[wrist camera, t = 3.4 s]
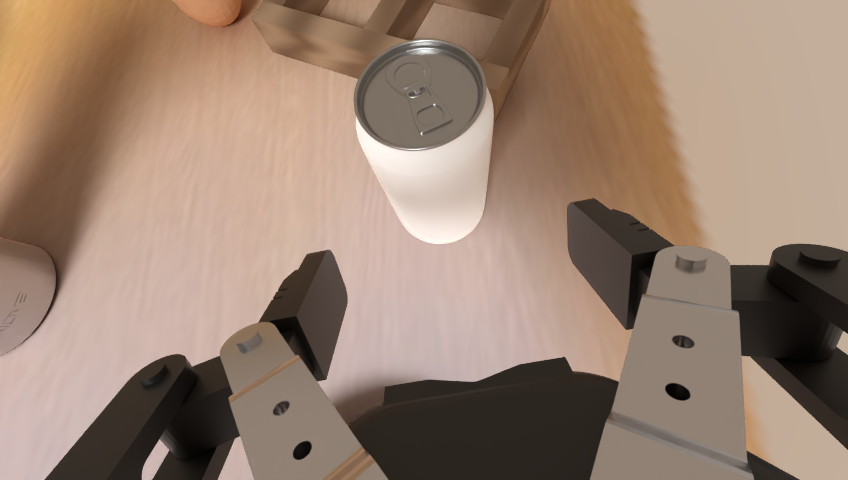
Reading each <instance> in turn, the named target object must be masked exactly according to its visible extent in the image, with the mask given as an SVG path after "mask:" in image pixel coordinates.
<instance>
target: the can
mask: <svg viewBox="0 0 848 480" xmlns="http://www.w3.org/2000/svg"><path fill="white" fill-rule="evenodd" d="M354 109H355V113H356V131H357V136H358V139H359V142H360V145H361V147H362V149H363V151H364V153H365V155H366V157H367V159H368V161H369V163H370V165H371V167H372V169H373V171H374V173H375V175H376V176H377V178H378V180H379V182H380V184H381V186H382V188H383V190H384V191H385V193H386V195H387V197H388V199H389V201H390V203H391V204H392V206H393V208H394V210H395V212H396V214H397V215H398V217H399V219H400V221H401V222H402V224H403V226H404V227H405V228H406V229H407V230H408V232H410V233H411V234H412V235H413V236H415V237H416V238H418V239H420V240H422V241H425V242H428V243H433V244H445V243H451V242H454V241H457V240H459V239H461V238H463V237H465V236H466V235H468V234H469V233H470V232H471V231H472V230H473V229H474V228H475V227H476V226H477V224H478V223H479V221H480V219H481V217H482V215H483V211H484V207H485V200H486V192H487V183H488V174H489V164H490V155H491V145H492V135H493V122H494V111H493V102H492V98H491V95H490V93H489V91H488V88H487V87H486V79H485V75H484V73H483V70H482V68H481V66H480V64H479V63H478V62H477V60H476V59H475V58H474V57H473V56H472V55H471V54H470V53H469V52H468V51H466V50H465V49H463V48H462V47H460V46H458V45H456V44H454V43H451V42H448V41H444V40H439V39H415V40H410V41H406V42H402V43H400V44H397V45H394V46H392V47H390V48H388V49H387V50H385V51H383V52H382V53H380V54H379V55H378V56H376V57H375V58H374V59H373V60H372V61H371V62H370V63H369V64H368V65H367V67H366V68H365V69H364V71H363V72H362V74H361V75H360V77H359V79H358V82H357V84H356V88H355V92H354Z"/></svg>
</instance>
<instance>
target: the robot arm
mask: <svg viewBox="0 0 848 480" xmlns="http://www.w3.org/2000/svg"><path fill="white" fill-rule="evenodd" d="M567 230H568V251H569V255H570V258H571V260H572V262H573V264H574V265H575V266H576V268H577V269H578V270H579V271H580V273H581V274H582V275H583V276H584V278H585V279H586V280H587V281H588V283H589V284H590V285H591V286H592V288H593V289H594V290H595V291H596V293H597V294H598V295H599V296H600V298H601V299H602V300H603V301H604V303H605V304H606V305H607V307H608V308H609V309H610V310H611V312H612V313H613V314H614V315H615V317H616V318H617V319H618V320H619V322H620V323H621V324H622V325H623V327H624V328H625V329H626V330H629V329H633V332H632V335H631V339H630V343H629V347H628V351H627V354H626V358H625V362H624V366H623V370H622V373H621V377H620V381H619V382H618V381H615V380H613V379H610V378H607V377H604V376H600V375H596V374H591V373H585V372H576V371H572V369H571V367H570V366H569V364H568V362H567V360H566V358H565V357H562V358H556V359H550V360H544V361H538V362H532V363H526V364H520V365H517V366H515V367H512V368H510V369H507V370H505V371H502V372H500V373H497V374H495V375H492V376H490V377H487V378H485V379H482V380H480V381H476V382H461V381H443V380H423V381H417V382H411V383H405V384H399V385H393V386H387V387H385V394H384V402H383V403H380V404H378V405H376V406H374V407H372V408H370V409H369V410H367V411H365V412H364V413H362V414H361V415H359V416H358V417H357V418H356V419H354V420H353V421H352V422H351V423H350V424H349V425H348V426H347V424H346V423H345V421H344V420H343V418H342V417H341V416H340V414H339V413H338V411H337V410H336V408H335V407H334V405H333V404H332V403H331V401H330V400H329V398H328V397H327V395H326V394H325V393H324V391H323V390H322V388H321V387H320V385H319V384H318V382H317V381H321V380H326V379H327V375H328V371H329V368H330V364H331V361H332V357H333V354H334V350H335V346H336V343H337V339H338V336H339V332H340V328H341V325H342V321H343V318H344V314H345V311H346V307H347V300H348V299H347V291H346V287H345V284H344V282H343V279H342V276H341V274H340V271H339V268H338V265H337V263H336V260H335V257H334V255H333V253H332V252H331V251H330V250H325V251H320V252H315V253H310V254H307V255H306V257H305V258H304V260H303V262H302V264H301V266H300V267H299V269H298V270H295V271H294V272H293V273H291V274H290V275H289V276H288V277H287V278H286V279H285V280H284V281H283V282H282V284H281V286H280V287H279V289H278V292H276V294H275V296H274V297H273V300H272V301H271V302H270V304H269V306H268V307H267V309H266V311H265V312H264V314H263V316H262V317H261V319H260V321H259V322H258V323H255V324H252V325H250V326H247V327H245V328H243V329H241V330H240V331H238V332H236V333H235V334H234V335H232V336H231V337H230V338H229V339H228V340H227V341H226V342H225V343H224V345H223V346H222V348H221V350H220V356H218V357H216V358H213V359H211V360H208V361H206V362H203V363H200V364H198V365H195V366H193V367H192V366H191V364H190V363H189V362H188V360H187V359H186V357H185V356H183V355H180V354H175V355H169V356H166V357H163V358H161V359H158V360H156V361H154V362H152V363H150V364H149V365H147V366H146V367H144V368H143V369H141V370H140V371H139V372H137V373H136V374H135V375H134V376H133V377H132V378H131V379H130V380H129V381H128V382H127V383H126V384H125V385H124V386H123V388H122V389H121V390H120V391H119V392H118V394H117V395H116V396H115V397H114V398H113V399H112V401H111V402H110V403H109V404H108V405H107V407H106V408H105V409H104V410H103V411H102V412H101V414H100V415H99V416H98V417H97V418H96V420H95V421H94V422H93V423H92V424H91V425H90V427H89V428H88V429H87V430H86V431H85V433H84V434H83V435H82V436H81V437H80V438H79V440H78V441H77V442H76V443H75V444H74V446H73V447H72V448H71V449H70V450H69V452H68V453H67V454H66V455H65V456H64V457H63V459H62V460H61V461H60V462H59V463H58V465H57V466H56V467H55V468H54V469H53V470H52V472H51V473H50V474H49V475H48V476H47V478H46V479H45V480H142V478H141V477H142V469H143V466H144V464H145V461H146V460H147V458H148V456H149V455H150V453H151V452H152V450H153V448H154V447H155V445H156V444H157V442H158V440H159V439H160V440H161V441H162V442H163V443H164V444H165V446H166V447H167V448H168V449H169V452H168V454H167V455H166V457H165V459H164V461H163V462H162V464H161V466H160V467H159V469H158V471H157V473H156V474H155V476H154V478H153V479H152V480H218V477H219V475H220V473H221V470H222V468H223V465H224V463H225V461H226V458H227V456H228V454H229V451H230V449H231V447H232V444H233V442H234V439H235V438H237V437H239V436H240V437H241V440H242V443H243V446H244V449H245V452H246V455H247V458H248V462H249V465H250V468H251V471H252V474H253V477H254V480H799V479H797V478H795V477H794V476H792V475H790V474H788V473H786V472H785V471H783V470H781V469H779V468H777V467H775V466H774V465H772V464H770V463H768V462H766V461H765V460H763V459H761V458H759V457H757V456H755V455H754V454H752V453H750V452H748V451H746V433H745V415H744V396H743V377H742V359H741V356H751V358H752V359H753V360H754V361H755V362H756V363H757V364H758V365H759V366H761V368H762V369H764V370H765V371H766V372H767V373H768V374H769V375H770V376H771V377H772V378H773V379H774V380H775V381H776V382H777V383H778V384H779V385H780V386H781V387H782V388H784V389H785V390H786V391H787V392H788V393H789V394H790V395H791V396H792V397H793V398H794V399H795V400H796V401H797V402H798V403H799V404H800V405H802V407H803V408H805V409H806V410H807V411H808V412H809V413H810V414H811V415H812V416H813V417H814V418H815V419H816V420H817V421H818V422H819V423H820V424H821V425H822V426H823V427H824V428H826V429H827V430H828V431H829V432H830V433H831V434H832V435H833V436H834V437H835V438H836V439H837V440H838V441H839V442H840V443H841V444H842V445H843V446H844V447H845V448H846V449H848V355H847V354H846V353H844V352H843V351H841V350H840V349H839V348H837V347H836V346H837V344H838V341H839V339H840V337H841V335H842V332H843V331H845V332H846V333H847V334H848V252H846V251H843V250H840V249H836V248H832V247H827V246H821V245H812V244H790V245H784V246H781V247H778V248H776V249H775V250H774V251H773V253H772V256H771V260H770V263H769V265H730V263H729V261H728V260H727V259H726V258H725V257H724V256H722V255H721V254H719V253H717V252H715V251H712V250H709V249H706V248H701V247H695V246H674V245H673V244H671V243H670V242H668V241H667V240H666V239H664V238H663V237H661V236H660V235H658V234H657V233H656V232H654V231H653V230H649V228H648V227H647V226H646V225H644V224H643V223H640V221H638V220H637V219H635V218H634V217H633V216H631V215H630V214H627V213H624V212H621V211H617V210H614V209H613V210H610V209H608V208H607V207H606V206H604V205H603V204H602V203H600V202H599V201H597V200H596V199H594V198H592V199H587V200H582V201H577V202H572V203H569V205H568V208H567ZM55 285H56V272H55V266H54V264H53V261H52V259H51V257H50V256H49V255H48V254H47V253H46V251H45V250H43V249H41V248H39V247H38V246H34V245H30V244H26V243H22V242H18V241H14V240H10V239H6V238H1V237H0V355H3V354H5V353H7V352H9V351H11V350H12V349H14V348H15V347H17V346H18V345H20V344H21V343H22V342H23V341H24V340H25V339H26V338H27V337H29V336H30V335H31V334H32V332H33V331H34V330H35V329H36V328H37V326H38V325H39V324H40V322H41V321H42V319H43V317H44V316H45V314H46V313H47V311H48V308H49V306H50V304H51V301H52V299H53V295H54V291H55Z"/></svg>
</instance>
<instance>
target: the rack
mask: <svg viewBox="0 0 848 480" xmlns="http://www.w3.org/2000/svg"><path fill="white" fill-rule="evenodd" d="M328 1H329V0H264V1H263V2H262V4H261V5H260V6H259V8H258V9H257V10H256V12H255V13H254V15H253V16H252V17H251V19H252V21H253V22H254V24H255V25H256V27H257V28H258V30H259V31H260V33H261V34H262V36H263V37H264V39H265V40H266V42H267V43H268V45H269V46H270V48H271V49H272V51H273V52H275V53H278V54H281V55H284V56H288V57H291V58H294V59H297V60H300V61H303V62H307V63H310V64H313V65H316V66H319V67H322V68H326V69H329V70H332V71H335V72H338V73H341V74H345V75H348V76H351V77H354V78H357V79H359V77H360V75H361V74H362V72H363V71H364V69H365V68H366V67H367V65H368V64H369V63H370V62H371V61H372V60H373V59H374V58H375V57H376V56H378V55H379V54H380V53H382V52H383V51H385V50H387V49H388V48H390V47H392V46H394V45H397V44H400V43H402V42H406V41H410V40H412V39H413V37H414V35H415V34H416V32H417V30H418V28H419V27H420V25H421V23H422V22H423V20H424V18H425V16H426V15H427V13H428V11H429V10H430V8H431V6H432V4H433V3H434V2H435V3H440V4H444V5H448V6H452V7H456V8H460V9H464V10H469V11H473V12H477V13H481V14H485V15H489V16H494V17H498V18H502V19H504V20H503V22H502V24H501V26H500V28H499V30H498V32H497V34H496V36H495V38H494V40H493V42H492V44H491V46H490V48H489V49H488V51H487V53H486V55H485V57H484V59H483V61H480V60H477V59H476V60H477V62H478V63H479V64H480V66H481V68H482V70H483V73H484V75H485V79H486V87H487V88H488V91H489V93H490V95H491V98H492V102H493V111H494V122H495V120H496V118H497V116H498V114H499V112H500V110H501V108H502V106H503V104H504V102H505V100H506V97H507V95H508V93H509V91H510V89H511V87H512V85H513V83H514V81H515V79H516V77H517V74H518V72H519V70H520V68H521V66H522V64H523V62H524V60H525V58H526V56H527V54H528V51H529V49H530V47H531V45H532V43H533V41H534V39H535V37H536V35H537V33H538V31H539V28H540V26H541V24H542V22H543V20H544V18H545V16H546V14H547V12H548V9H549V4H550V0H381V1H380V3H379V5H378V6H377V8H376V9H375V11H374V13H373V14H372V16H371V17H370V19H369V21H368V22H367V24H366V25H365V27H364V28H360V27H357V26H353V25H349V24H346V23H342V22H338V21H335V20H331V19H327V18H324V17H320V16H318V15H319V14H320V13H321V11H322V10H323V8H324V7H325V5H326V4H327V2H328Z"/></svg>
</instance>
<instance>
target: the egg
mask: <svg viewBox="0 0 848 480" xmlns="http://www.w3.org/2000/svg"><path fill="white" fill-rule="evenodd" d="M172 1H173V2H174V3H175V4H176V5H177V6H178V7H179V8H180V9H181V10H182V11H183V12H184V13H185V14H187V15H188V16H189V17H191V18H193V19H194V20H196V21H198V22H200V23H203V24H206V25H210V26H215V27H218V26H226V25H228V24H231V23H232V22H233V21H234V20H235V19H236V18H237V16H238V14H239V12H240V8H241V3H242V0H172Z"/></svg>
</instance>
